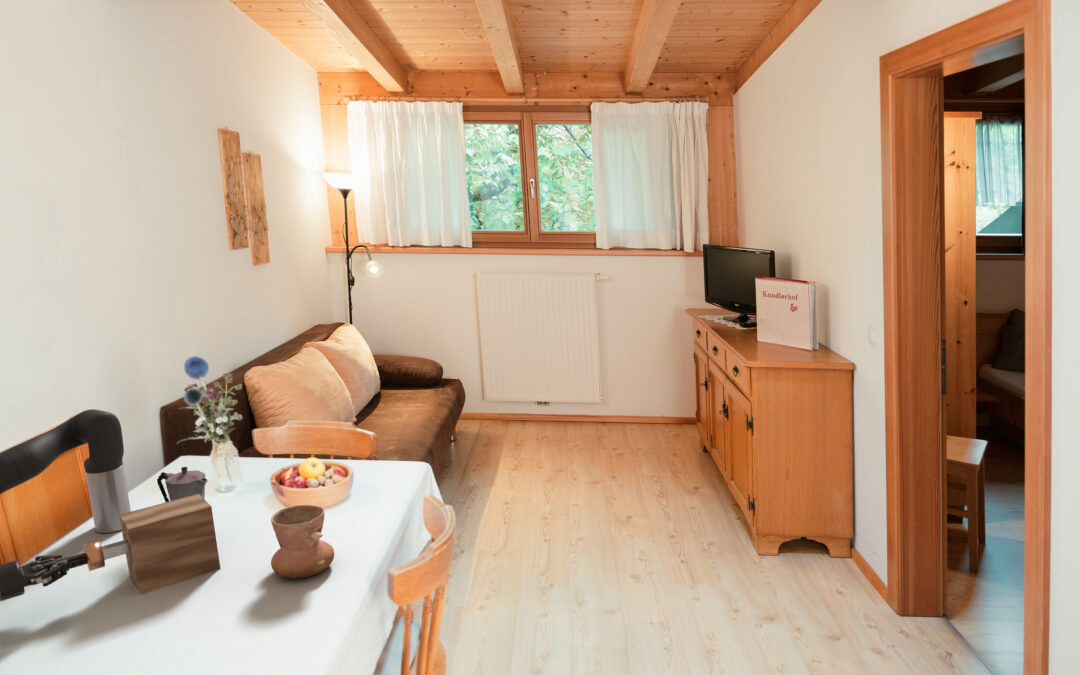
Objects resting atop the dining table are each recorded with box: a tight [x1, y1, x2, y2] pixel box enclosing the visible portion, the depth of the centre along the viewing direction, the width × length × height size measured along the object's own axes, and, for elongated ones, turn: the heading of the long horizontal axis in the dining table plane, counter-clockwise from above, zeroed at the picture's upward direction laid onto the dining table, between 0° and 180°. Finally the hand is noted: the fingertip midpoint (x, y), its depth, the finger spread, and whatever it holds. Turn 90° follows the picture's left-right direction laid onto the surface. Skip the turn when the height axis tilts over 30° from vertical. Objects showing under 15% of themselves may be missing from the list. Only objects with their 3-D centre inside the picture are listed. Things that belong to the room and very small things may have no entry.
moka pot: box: [156, 466, 209, 503], centre depth 211 cm, size 10×15×20 cm, turn 78°
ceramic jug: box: [270, 504, 335, 579], centre depth 192 cm, size 18×14×14 cm
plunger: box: [83, 539, 130, 572], centre depth 189 cm, size 6×21×6 cm, turn 127°
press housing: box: [119, 494, 221, 595], centre depth 193 cm, size 11×18×16 cm, turn 127°
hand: (86, 557), depth 182 cm, fingers closed
